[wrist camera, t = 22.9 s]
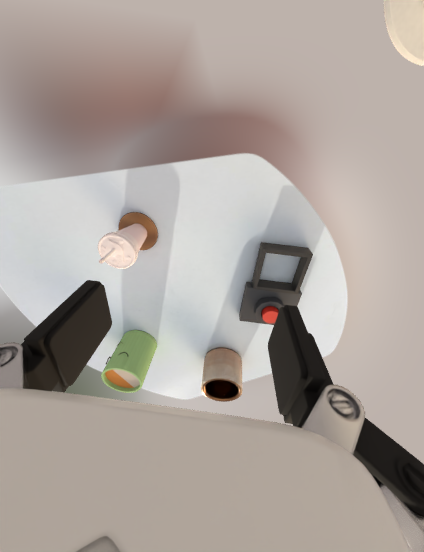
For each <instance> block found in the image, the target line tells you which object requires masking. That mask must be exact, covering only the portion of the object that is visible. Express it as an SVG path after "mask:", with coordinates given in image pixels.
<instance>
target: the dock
mask: <svg viewBox="0 0 424 552" xmlns="http://www.w3.org/2000/svg"><path fill="white" fill-rule="evenodd" d="M266 253H274V254H282V255H290V256H299V257H301V259H300V262H299V265H298V267H297V270H296V273H295V276H294V279H293V282H292V284H291V283H283V282H275V281H267V280H259V278H260V274H261V270H262V266H263V262H264V258H265V254H266ZM312 256H313V254H312V252H311V251H310V250H309V248H304V247H296V246H287V245H279V244H270V243H261V244H260V249H259V253H258V257H257V262H256V266H255V270H254V275H253V279H252V285H253V289H257V290H264V291H272V292H281V293H289V294H297V295H298V292H299V290H300V287H301V284H302V282H303V279H304V277H305V274H306V271H307V269H308V266H309V264H310V261H311V258H312Z"/></svg>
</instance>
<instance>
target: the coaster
mask: <svg viewBox="0 0 424 552" xmlns="http://www.w3.org/2000/svg"><path fill="white" fill-rule="evenodd" d="M133 224H141V225H142V226H144V227H145V229H146V230H147V237H146V239H145V241H144V243H143V245H142V246H141V248H140V250H147V249H149V248H151V247H152V246H153V245H154V244H155V243H156V241H157V237H158V232H157V228H156V226H155V224H154V222H153V221H152V220H151V219H150V218H149V217H147V216H146V215H144V214H142V213H138V212H131V213H128V214H126V215H124V216H123V217H122V218H121V220H120V222H119V230H121V229H124V228H126V227H128V226H130V225H133Z"/></svg>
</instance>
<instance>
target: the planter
mask: <svg viewBox="0 0 424 552" xmlns="http://www.w3.org/2000/svg"><path fill="white" fill-rule="evenodd" d="M201 390H202V392H203V394H204V395H205V396H207V397H208V398H210V399H213V400H216V401H232V400H235V399H237V398H239V397H240V395H241V394H242V362H241V358H240V356H239V355H238V354H237V353H236V352H234V351H232V350H230V349H226V348H218V349H214V350H211V351H210V352H208V353H207V354H206V356H205V360H204V368H203V377H202V385H201Z"/></svg>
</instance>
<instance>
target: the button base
mask: <svg viewBox="0 0 424 552" xmlns="http://www.w3.org/2000/svg"><path fill="white" fill-rule="evenodd" d="M301 295H302V293H301V291H300V290H299V292H298V295H297V294H289V293H281V292H272V291H264V290H257V289H253V285H252V282H246V286H245V291H244V295H243V300H242V305H241V310H240V314H239V317H240V321H247V322H255V323H263V324H271V325H274V324H275V323H266V322H265V321H264V320H263V317H262V310H263V309H264V308H265V307H267V306H274V307H276V308H277V309H278V312H279V310H280V308H281V307H284V305H292V306H297V305H298V302H299V300H300V297H301Z"/></svg>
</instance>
